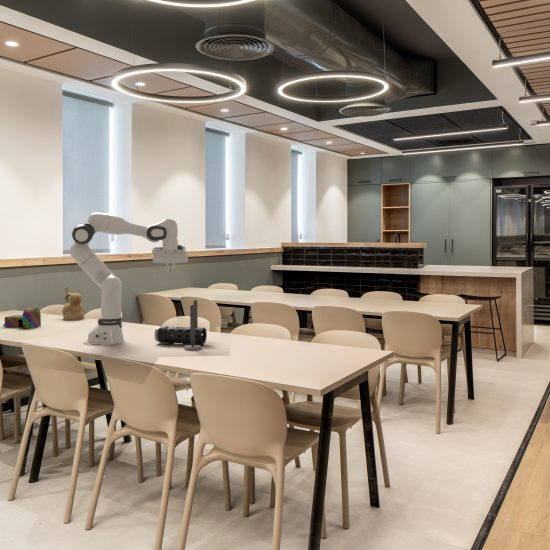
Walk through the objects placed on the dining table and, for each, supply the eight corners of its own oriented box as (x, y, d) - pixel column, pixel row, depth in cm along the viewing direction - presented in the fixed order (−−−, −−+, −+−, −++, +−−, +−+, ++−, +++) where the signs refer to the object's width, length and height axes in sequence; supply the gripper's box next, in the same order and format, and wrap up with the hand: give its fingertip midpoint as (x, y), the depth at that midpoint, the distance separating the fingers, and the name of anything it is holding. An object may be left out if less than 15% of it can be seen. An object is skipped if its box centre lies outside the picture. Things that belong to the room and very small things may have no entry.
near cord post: (183, 350, 300) (183, 306, 299) (184, 347, 309) (184, 304, 308) (200, 350, 301) (200, 305, 300) (201, 347, 310) (201, 304, 309)
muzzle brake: (201, 347, 313) (201, 328, 312) (154, 345, 318) (153, 327, 318) (207, 344, 322) (206, 325, 321) (160, 342, 328) (160, 324, 327)
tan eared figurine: (69, 323, 411) (68, 289, 410) (56, 321, 425) (55, 287, 423) (90, 320, 424) (89, 287, 423) (77, 318, 437) (76, 286, 436)
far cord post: (187, 341, 330) (186, 300, 329) (188, 338, 339) (188, 299, 338) (203, 341, 331) (202, 300, 330) (203, 338, 340) (203, 298, 339)
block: (45, 326, 398) (44, 306, 397) (31, 329, 381) (31, 308, 381) (11, 325, 401) (11, 305, 400) (-3, 329, 384) (-4, 308, 384)
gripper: (151, 247, 326) (151, 271, 327) (187, 247, 328) (187, 270, 329) (152, 247, 332) (153, 270, 333) (188, 247, 334) (188, 270, 335)
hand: (170, 270), depth 331 cm, fingers closed
